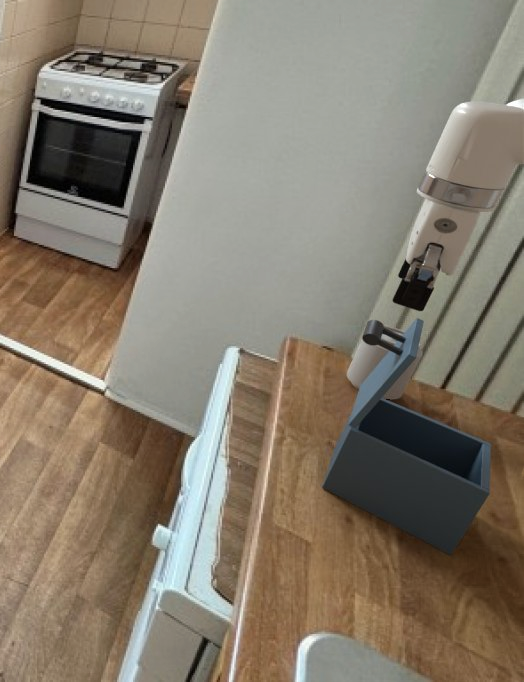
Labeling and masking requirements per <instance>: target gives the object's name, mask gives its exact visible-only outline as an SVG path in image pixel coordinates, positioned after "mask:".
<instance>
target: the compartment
mask: <svg viewBox="0 0 524 682" xmlns="http://www.w3.org/2000/svg"><path fill="white" fill-rule="evenodd" d="M352 411H353V409H352V410H351V413H350V414H349V417H348V419H347V421H346V422H345V425H344V427H343V430H341V433H340V435H339V438H338V440H337V442H336V444H335V447H334V450H333V453H332V455H331V458H330V461H329V465H328V468H327V470H326V473H325V477H324V480H323V483H322V486H321V488H322V489H324V490H326V492H327V491H328V492H330V493H331V494H333V495H335V496H337V497H339V498H341V499H343V500H344V501H347V502H348V503H351V504H352V505H354V506H356V507H358V508H360V509H362V510H364V511H366V512H368V513H370V514H371V515H373V516H375V517H377V518H378V519H381V520H383V521H384V522H386V523H389V524H390V525H392V526H394V527H396V528H398V529H400V530H402V531H403V532H406V533H408V534H409V535H411V536H413V537H415V538H417V539H418V540H421V541H422V542H424V543H426V544H428V545H431V546H432V547H434V548H436V549H438V550H440V551H442V552H444V553H446V554H447V555H450V556H452V554H453V553H454V551H455V550H456V549H457V546H458V545H459V543H460V542H461V540H462V539H463V537H464V535H465V534H466V532H467V531H468V529H469V527H470V525H471V524H472V523H473V521H474V519H476V516H477V515H478V513H479V512H480V510H481V508H482V507H483V505H484V503H485V502H486V501H487V499H488V497H489V495H490V494H491V463H492V462H491V461H492V459H491V457H492V443H491V442H488V441H486V440H484V439H481V438H479V437H476V436H473V435H472V434H468V433H466V432H464V431H462V430H460V429H457V428H456V427H452V426H450V425H447V424H446V423H443V422H441V421H438V420H436V419H433V418H431V417H429V416H426V415H424V414H421V413H419V412H416V411H414V410H412V409H409V408H408V407H405V406H402V405H400V404H397V403H395V402H393V401H390V400H386V399H384V398H381V399H380V400H379V402H378V403H377V404H376V405H375V406H374V407H373V408H372V410H371V411H370V412H369V413H368V414H367V415H366V416H365V418H364V419H363V420H362V421H361V422H360V423H359V425H358V426H357V427H356V428H353V427H351V426H349V425H348V424H349V421H350V417H351V414H352Z"/></svg>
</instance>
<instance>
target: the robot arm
mask: <svg viewBox="0 0 524 682" xmlns="http://www.w3.org/2000/svg"><path fill="white" fill-rule="evenodd" d="M517 165H524V98H519V99H516V100H513V101H510V102H508V103H505V104H504V103H497V102H490V101H466V102H465V101H464V102H462V103H459V104H458V105H456V106H455V107H454V108H453V109H452V111H451V113H450V115H449V117H448V119H447V122H446V124H445V126H444V128H443V130H442V133H441V135H440V138H439V140H438V142H437V144H436V146H435V149H434V150H433V153H432V155H431V157H430V160H429V162H428V164H427V166H426V168H425V171H424V173H423V176H422V178H421V180H420V182H419V184H418V187H417V189H416V193H417V194H418V196H420V197H422V198H424V202H423V204H422V206H421V208H420V211H419V213H418V216H417V217H416V220H415V223H414V225H413V228H412V231H411V234H410V237H409V241H408V245H407V250H406V257H405V259H404V261H403V262H402V265H401V268H400V270H399V272H398V274H397V277H398V278H399V279H401V280H400V282H399V284H398V287H397V289H396V291H395V293H394V296H393V298H392V302H393V303H394V304H396V305H399V306H402V307H405V308H407V309H410V310H414V311H416V312H417V311H418V312H423V311H424V310H425V308H426V306H427V303H428V302H429V300H430V298H431V296H432V294H433V292H434V290H435V287H434V286H435V283H436V281H437V278H438V276H439V273H440V271H441V273H444V274H445V275H446V276H454V274H455V273H456V270H457V267H458V265H459V263H460V261H461V258H462V256H463V254H464V252H465V251H466V248H467V246H468V243H469V241H470V239H471V237H472V235H473V233H474V231H475V228H476V226H477V223H478V222H479V221H478V220H479V218H480V215H481V213H488V212H493V211H494V210H495V208H496V206H497V204H498V202H499V200H500V198H501V196H502V194H503V192H504V190H505V189H506V186H507V184H508V183H509V180H510V179H511V177H512V175H513V173H514V172H515V171H514V170H515V169H516V167H517Z"/></svg>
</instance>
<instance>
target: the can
mask: <svg viewBox="0 0 524 682" xmlns="http://www.w3.org/2000/svg"><path fill="white" fill-rule="evenodd" d="M384 328H386V329H388V330H390V331H392V332H394V333H396V334H398V335H401V336H402V335H403V334H404V333H405V330H402V329H399V328H396V327H394V326H389V325H384ZM381 340H383V341H385V342H387V343H389V344H391V345H393V346H394V345H395V343H396V342H397V340H395V339H393V338H391V337H389V336H387V335H384V334H382V336H381ZM421 347H422V343H421V341H420V342H419V347H418V352H417V357H416V359H415V360H414V361H413V362H412V364H411V365H410V366H409V367H408V368H407V369H406V370H405V372H404V373H403V374H402V375H401V376H400V377H399V379H398V380H397V381H396V382H395V383H394V384H393V385H392V387H391V388H390V389H389V390H388V391H387V392H386V393H385V395H384V396H383V397H382V398H384V399H390V400H399V399H400V398H402V396H403V394H404V392H405V390H406V388H407V386H408V384H409V383H410V381H411V378H412V376H413V375H414V372H415V371H416V369H417V367H418V364H419V363H420V361H421V359H422V358H423V353H424V352H423V350H422V349H421ZM388 352H389V350H387V349H385V348H383V347H381V346H379V345H375V346H372V345H368V344H366V343H365V342H364V341H363V339H362V338H361V341H360V343H359V345H358V347H357V349H356V352H355V354H354V356H353V357H352V360H351V363H350V365H349V367H348V369H347V371H346V377H347V380H348V381H350V383H351V385H352V386H353V387H355V388H356V389H357V390H358V391H359V389H360V386H361V384H362V383H363V382H364V381H365V380H366V378H367V377H368V376H369V375H370V373H371V372H372V371H373V370H374V369H375V367H376V366H377V365H378V364H379V363H380V361H381V360H382V359H383V358H384V357H385V355H386V354H387V353H388Z"/></svg>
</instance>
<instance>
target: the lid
mask: <svg viewBox="0 0 524 682" xmlns="http://www.w3.org/2000/svg"><path fill="white" fill-rule="evenodd" d="M424 322H425V320H423V319H421V318H418V317H416V318H415V319H414V321H413V322H412V323H411V324H410V326H409V327H408V328H407V329H406V330H404V332H405V333H404V334H403V335H402V336H401V335H398V334H396V333H394V332H392V331H390V330H388V329H386V328H384V326H385V325H384V323H383V322H381V321H380V320H377V319H369V320H368V321H367V323H366V325H365V328H364V331H363V334H362V337H361V340H362V339H363V341H364V342H365V343H366V344H368V345H372V346H375V345H379V346H381V347H383V348H385V349H387V350H389V352H388V353H387V354H386V355H385V357H384V358H383V359H382V360H381V361H380V363H379V364H378V365H377V366H376V367H375V369H374V370H373V371H372V372H371V373H370V375H369V376H368V377H367V378H366V380H365V381H364V382H363V383H362V384H361V386H360V389H359V390H358V392H357V396H356V399H355V401H354V404H353V408H352V410H353V411H352V410H351V412H352V414H351V413H350V415H351V417H350V416H349V417H350V421H349V424H348V425H349V426H351V427H353V428H356V427H357V426H358V425H359V423H360V422H361V421H362V420H363V419H364V418H365V416H366V415H367V414H368V413H369V412H370V411H371V410H372V408H373V407H374V406H375V405H376V404H377V403H378V402H379V400H380V399H381V398H382V397H383V396H384V395H385V393H386V392H387V391H388V390H389V389H390V388H391V387H392V385H393V384H394V383H395V382H396V381H397V380H398V379H399V377H400V376H401V375H402V374H403V373H404V372H405V370H406V369H407V368H408V367H409V366H410V365H411V364H412V362H413V361H414V360H415V359H416V357H417V352H418V347H419V342H420V343H421V337H422V331H423V328H424ZM382 334H384V335H387V336H389V337H391V338H393V339H395V340H397V342H396V343H395V345H394V346H393V345H391V344H389V343H387V342H385V341H383V340H381V336H382Z"/></svg>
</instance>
